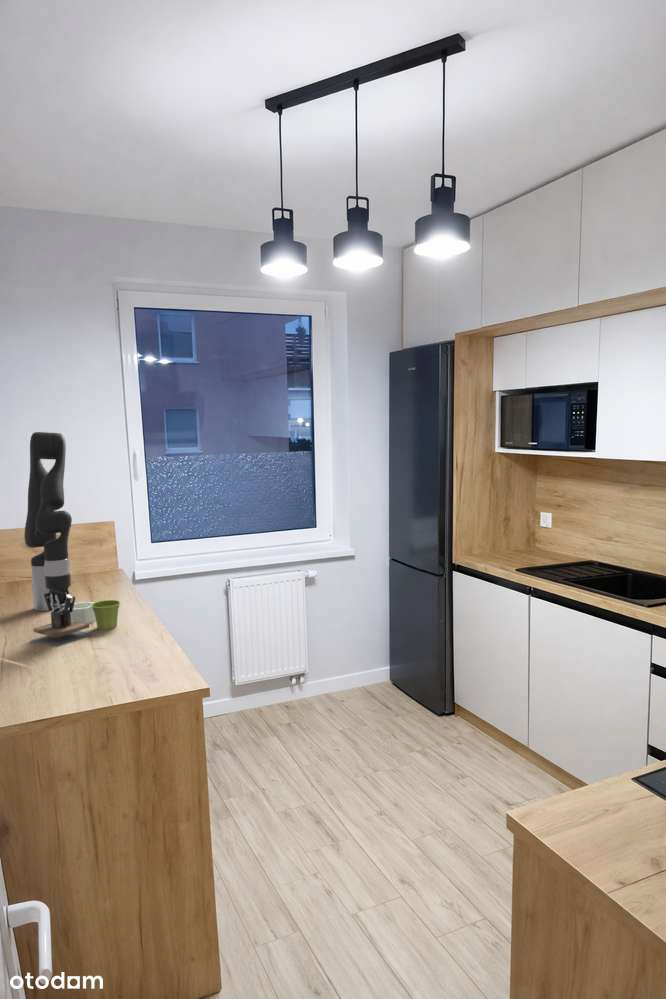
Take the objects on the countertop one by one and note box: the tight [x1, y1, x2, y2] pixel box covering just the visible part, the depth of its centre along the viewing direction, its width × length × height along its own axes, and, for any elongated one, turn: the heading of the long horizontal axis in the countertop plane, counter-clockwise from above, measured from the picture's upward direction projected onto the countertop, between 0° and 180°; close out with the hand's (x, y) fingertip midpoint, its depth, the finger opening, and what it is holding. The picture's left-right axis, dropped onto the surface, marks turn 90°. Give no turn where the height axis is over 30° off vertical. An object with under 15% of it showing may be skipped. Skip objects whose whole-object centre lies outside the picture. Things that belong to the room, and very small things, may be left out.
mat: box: [30, 630, 95, 648], centre depth 211 cm, size 14×14×1 cm
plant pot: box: [91, 599, 121, 631], centre depth 221 cm, size 9×9×9 cm
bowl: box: [70, 601, 96, 625], centre depth 230 cm, size 10×10×6 cm
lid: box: [33, 608, 90, 638], centre depth 211 cm, size 12×12×6 cm
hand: (61, 624), depth 211 cm, fingers closed on lid, 3 cm apart
